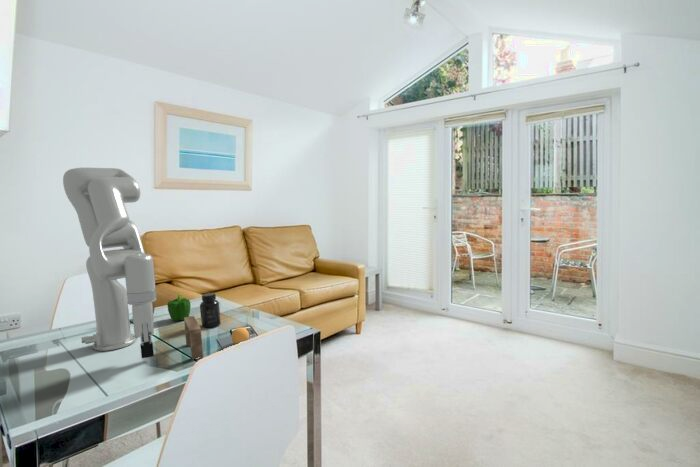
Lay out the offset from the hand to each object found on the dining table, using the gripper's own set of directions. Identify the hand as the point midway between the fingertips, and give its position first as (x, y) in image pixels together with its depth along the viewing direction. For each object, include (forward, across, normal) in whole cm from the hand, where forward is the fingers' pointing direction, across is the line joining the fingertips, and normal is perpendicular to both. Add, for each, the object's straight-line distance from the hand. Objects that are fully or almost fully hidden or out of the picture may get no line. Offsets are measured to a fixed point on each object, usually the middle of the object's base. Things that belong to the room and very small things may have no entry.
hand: (147, 356), depth 116 cm
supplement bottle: (+2, -22, +22) cm, 31 cm away
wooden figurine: (+2, -47, +1) cm, 47 cm away
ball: (-1, +3, +27) cm, 27 cm away
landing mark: (+2, 0, +27) cm, 27 cm away
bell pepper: (+2, -37, +13) cm, 39 cm away
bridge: (+2, 0, +13) cm, 13 cm away
